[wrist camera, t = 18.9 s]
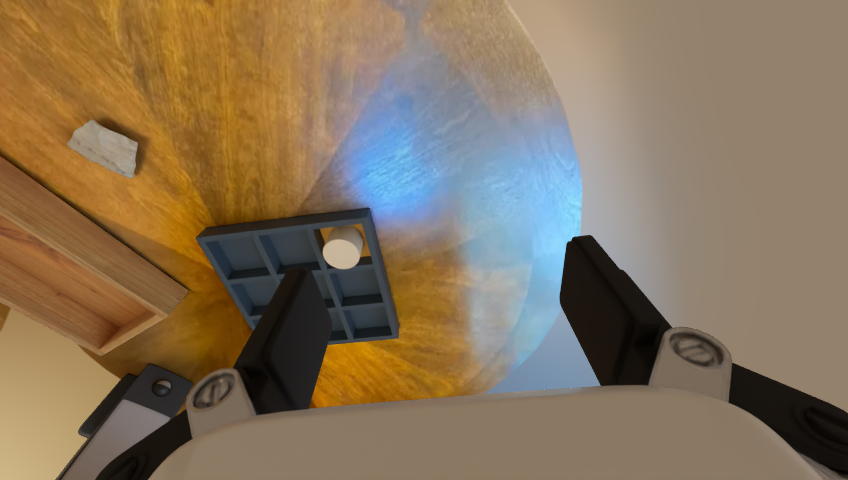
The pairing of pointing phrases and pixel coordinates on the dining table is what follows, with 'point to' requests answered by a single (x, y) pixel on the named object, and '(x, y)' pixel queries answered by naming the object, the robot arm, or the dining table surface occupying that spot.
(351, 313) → the grid
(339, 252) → the cylinder
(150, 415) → the light fixture
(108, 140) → the stone
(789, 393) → the robot arm
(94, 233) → the tray
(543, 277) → the dining table surface
